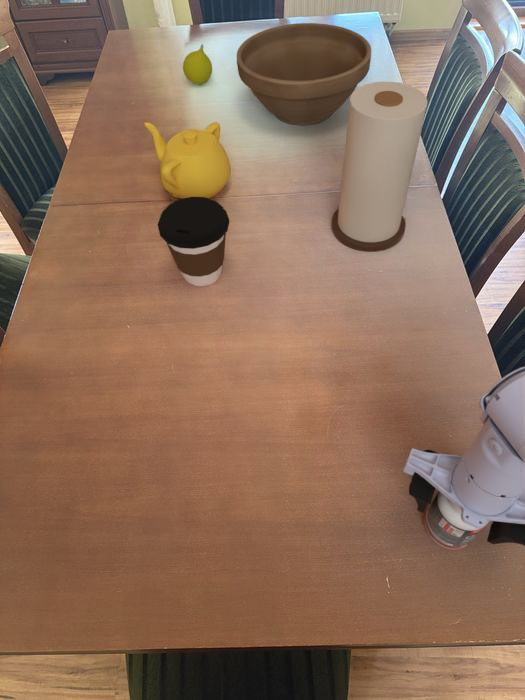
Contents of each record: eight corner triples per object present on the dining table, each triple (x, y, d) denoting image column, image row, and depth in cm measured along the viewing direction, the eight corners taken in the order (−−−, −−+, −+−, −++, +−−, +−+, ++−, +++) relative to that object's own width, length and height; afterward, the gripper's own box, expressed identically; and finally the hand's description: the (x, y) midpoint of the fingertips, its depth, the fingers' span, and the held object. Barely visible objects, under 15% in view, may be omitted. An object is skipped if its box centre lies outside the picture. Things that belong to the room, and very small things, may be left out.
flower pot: (229, 140, 111) (224, 78, 101) (251, 78, 128) (248, 19, 117) (361, 147, 108) (369, 83, 97) (366, 82, 124) (373, 22, 114)
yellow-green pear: (217, 85, 126) (213, 42, 118) (190, 92, 125) (184, 48, 117) (208, 73, 130) (203, 30, 122) (181, 79, 129) (175, 36, 121)
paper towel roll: (413, 216, 94) (445, 85, 75) (390, 260, 87) (419, 129, 68) (347, 198, 97) (361, 70, 79) (320, 239, 91) (329, 109, 72)
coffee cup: (221, 303, 82) (212, 246, 72) (159, 289, 84) (143, 232, 75) (243, 258, 88) (238, 200, 79) (186, 247, 91) (174, 189, 81)
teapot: (221, 161, 106) (215, 105, 97) (241, 201, 98) (236, 144, 88) (155, 175, 104) (143, 119, 95) (170, 217, 96) (158, 161, 86)
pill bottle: (464, 560, 57) (492, 531, 49) (416, 533, 59) (436, 501, 51) (480, 517, 60) (509, 483, 52) (433, 493, 62) (455, 456, 54)
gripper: (405, 470, 46) (381, 521, 56) (579, 545, 41) (517, 585, 52) (427, 409, 49) (401, 468, 60) (589, 471, 45) (530, 523, 56)
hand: (456, 518), depth 56 cm, fingers open, 7 cm apart
